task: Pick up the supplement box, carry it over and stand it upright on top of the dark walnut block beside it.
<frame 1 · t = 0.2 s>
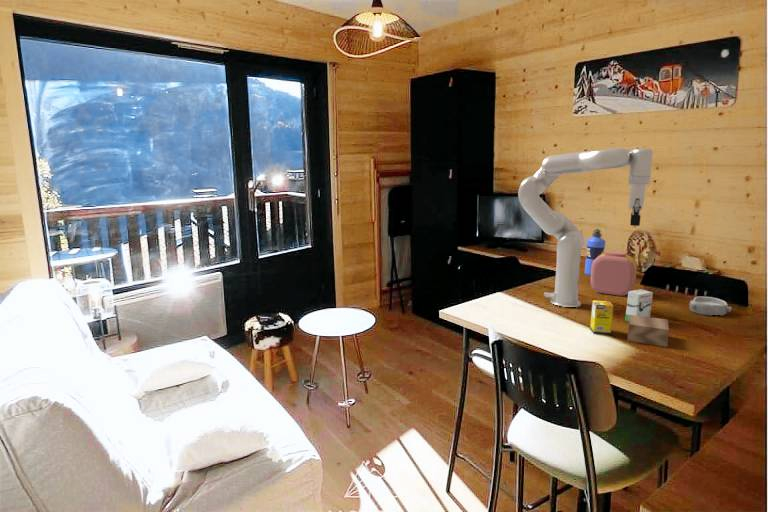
hand: (634, 224, 193), 37 cm above the table, tool pointing down, fingers open, 9 cm apart
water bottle: (593, 274, 268), on the table
walnut block: (646, 338, 171), on the table
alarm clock: (611, 293, 230), on the table
dish: (708, 312, 201), on the table
supplement box: (600, 332, 177), on the table
ink box: (637, 321, 189), on the table
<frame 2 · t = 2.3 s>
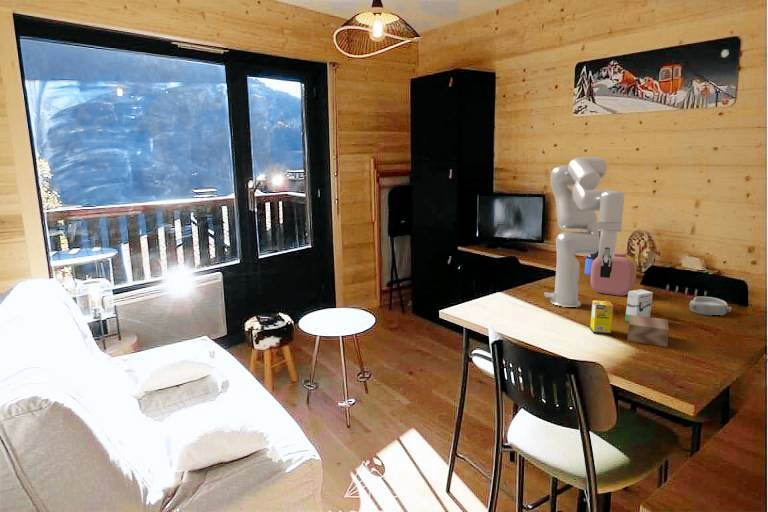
hand: (605, 274, 173), 21 cm above the table, tool pointing down, fingers open, 9 cm apart
nothing on the table moved.
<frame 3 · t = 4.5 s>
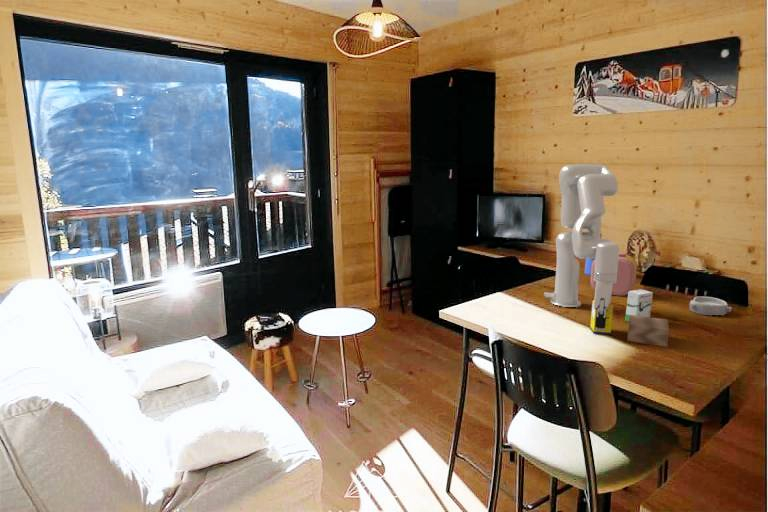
hand: (600, 324, 177), 3 cm above the table, tool pointing down, fingers closed on supplement box, 7 cm apart
supplement box: (600, 332, 177), on the table, touching gripper
everything else where it was.
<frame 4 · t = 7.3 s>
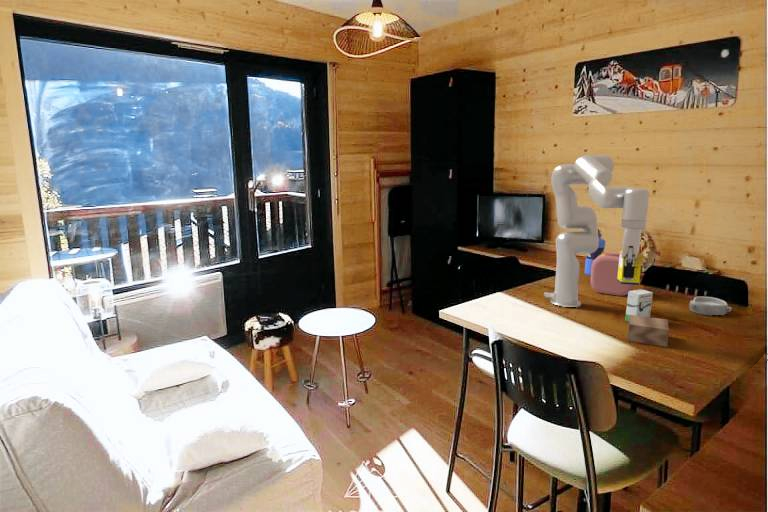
hand: (628, 275, 170), 22 cm above the table, tool pointing down, fingers closed on supplement box, 7 cm apart
supplement box: (627, 283, 170), point 19 cm above the table, touching gripper
everything else where it was.
when the fingers open (10 cm above the table, at t = 10.5 s): supplement box drops 1 cm, resting on walnut block.
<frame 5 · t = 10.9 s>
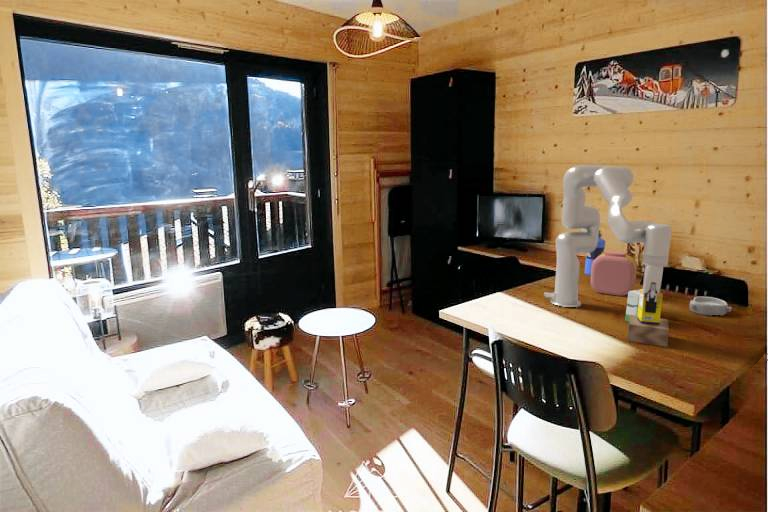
hand: (649, 308, 169), 11 cm above the table, tool pointing down, fingers open, 9 cm apart
supplement box: (647, 322, 170), point 6 cm above the table, touching walnut block
everything else where it was.
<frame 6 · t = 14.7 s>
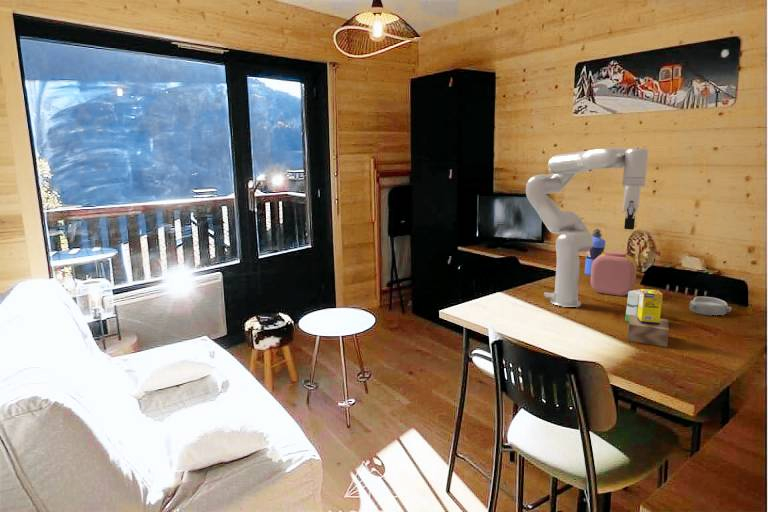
hand: (629, 227, 184), 36 cm above the table, tool pointing down, fingers open, 9 cm apart
nothing on the table moved.
at the end: supplement box inside the target area on the walnut block (0.4 cm from its centre), point 5.8 cm above the walnut block's base; supplement box tilted 0°; the gripper is holding nothing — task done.
